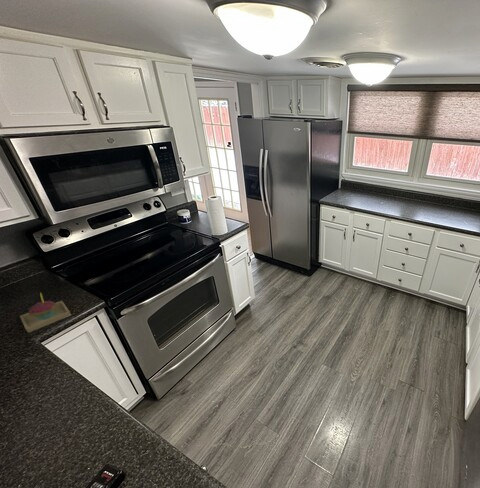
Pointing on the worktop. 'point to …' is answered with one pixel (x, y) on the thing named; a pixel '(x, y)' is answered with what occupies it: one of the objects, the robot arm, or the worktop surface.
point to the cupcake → (42, 309)
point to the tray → (36, 323)
